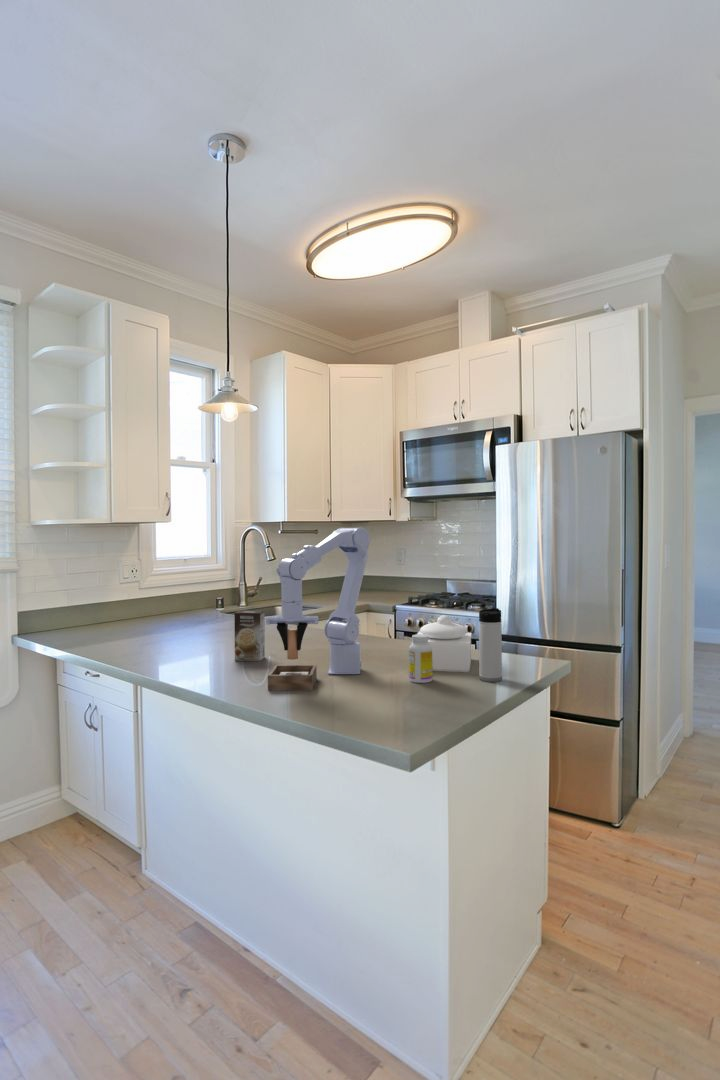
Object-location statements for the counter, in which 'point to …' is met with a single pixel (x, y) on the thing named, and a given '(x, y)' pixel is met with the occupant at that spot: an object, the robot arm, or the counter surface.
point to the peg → (292, 644)
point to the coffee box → (249, 635)
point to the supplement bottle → (420, 659)
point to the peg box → (292, 677)
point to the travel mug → (490, 645)
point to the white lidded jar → (448, 645)
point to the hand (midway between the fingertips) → (292, 649)
